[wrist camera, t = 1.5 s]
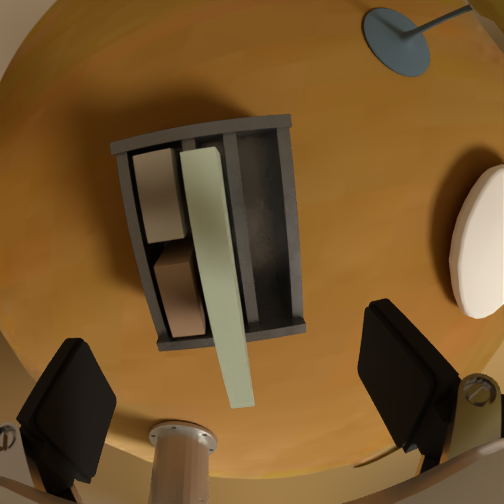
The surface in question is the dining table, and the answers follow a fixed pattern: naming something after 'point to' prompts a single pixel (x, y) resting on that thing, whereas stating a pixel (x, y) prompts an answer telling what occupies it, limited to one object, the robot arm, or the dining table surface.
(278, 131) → the rack
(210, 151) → the sage sheet
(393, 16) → the cocktail glass
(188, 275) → the walnut offcut
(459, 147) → the dining table surface
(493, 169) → the plate
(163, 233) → the brown offcut
